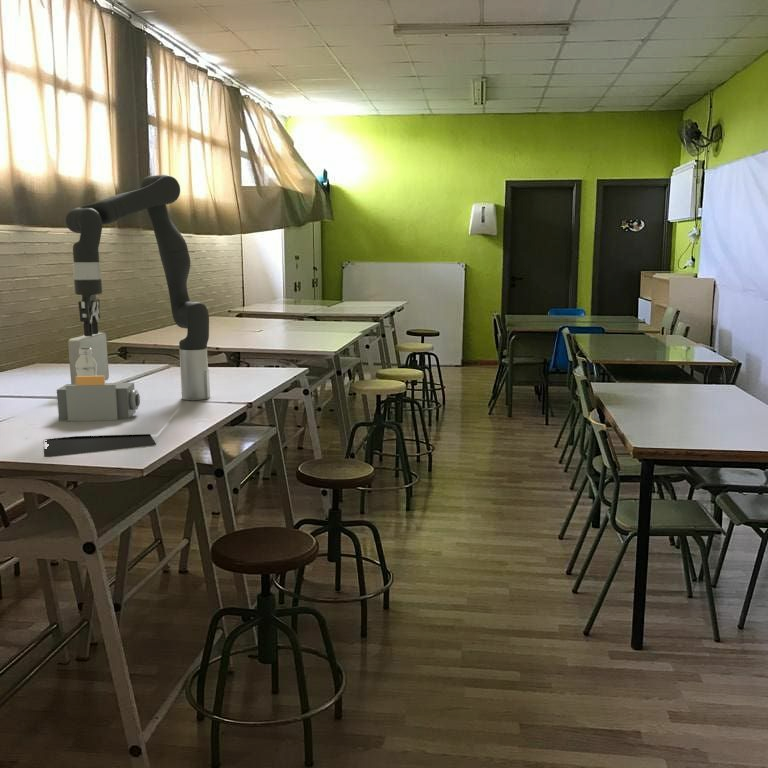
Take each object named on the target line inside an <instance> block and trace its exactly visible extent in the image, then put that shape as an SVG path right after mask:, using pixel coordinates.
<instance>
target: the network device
mask: <svg viewBox="0 0 768 768" xmlns="http://www.w3.org/2000/svg"><path fill="white" fill-rule="evenodd" d="M107 342H108V341H107V333H106V332H99V333H98V334H93V335H92V336H84V334H83V335H80V336H77V337H72V338H69V339H68V341H67V346H68V348H67V349H68V357H69V358H68V360H69V371H70V373H69V374H70V384H76V378H75V377H76V376H77V372H76V368H75V364H76V362H77V360H78V358H79V357H80V355H79V348H91V349H92V354H91V356H92V357H93V358H94V359H95V361H96V363H97V376H105V381H108V380H109V378H110V373H109V370H110V369H109V358H108V357H109V355H108V343H107Z"/></svg>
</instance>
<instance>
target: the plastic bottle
mask: <svg viewBox="0 0 768 768" xmlns="http://www.w3.org/2000/svg"><path fill="white" fill-rule="evenodd" d="M91 354H92V349H91V348H79V355H80V357H79V358H78V360H77V362H76V364H75V368H76V372H77V376H97V363H96V361H95V359H94V358H93V357H92V356H91Z"/></svg>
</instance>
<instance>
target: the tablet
mask: <svg viewBox="0 0 768 768" xmlns="http://www.w3.org/2000/svg"><path fill="white" fill-rule="evenodd" d="M45 440H47V441H45V442H47V444H49V446H48V447H47V449H44V448H43V458H55V457H63V456H65V457H66V456H74V455H75V456H76V455H84V454H92V453H100V452H101V453H104V452H112V451H113V452H114V451H122V450H123V451H124V450H132V449H141V448H150V447H156V446H157V442H156V441H155V440H154V438H153V436H152V435H151V433H142V434H110V435H108V434H106V435H75V436H74V435H73V436H63V437H56V438H46V439H45Z"/></svg>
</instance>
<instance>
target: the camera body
mask: <svg viewBox="0 0 768 768" xmlns="http://www.w3.org/2000/svg"><path fill="white" fill-rule="evenodd" d="M105 384H116V395H117V410H118V420H128V419H130V418H132V416H133V415H135V413H136V412H137V410H138V409H139V407H140V405H141V403H140V402H141V396H140V393H139V391H138V389H135V382H107V383H106V382H105ZM66 385H76V384H71V383H66V384H64V385H63V386H61V387H59V388H58V389H56V400H57V409H58V412H57V413H58V421H60V422H61V421H62V422H63V421H68V412H67V399H66Z"/></svg>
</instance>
